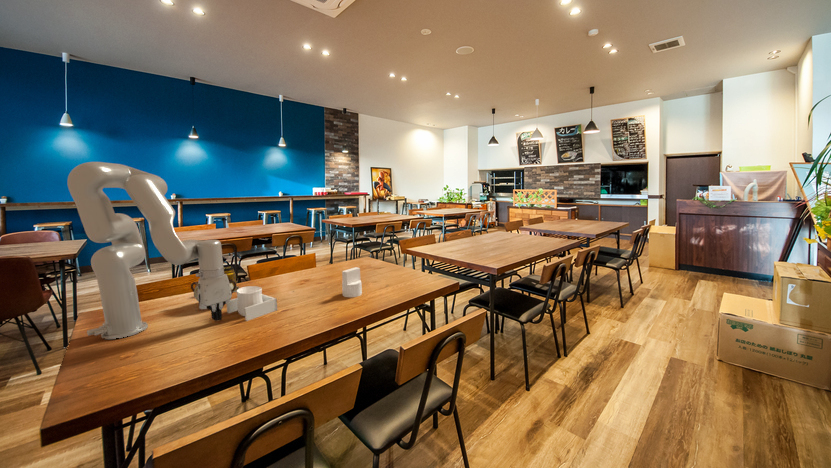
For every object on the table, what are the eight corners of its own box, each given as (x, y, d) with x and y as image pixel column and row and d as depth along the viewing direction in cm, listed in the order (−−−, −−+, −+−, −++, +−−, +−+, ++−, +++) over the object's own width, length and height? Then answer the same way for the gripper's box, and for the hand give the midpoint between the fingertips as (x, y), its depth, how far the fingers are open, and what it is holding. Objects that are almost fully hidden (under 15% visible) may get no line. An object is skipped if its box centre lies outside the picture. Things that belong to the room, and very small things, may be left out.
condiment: (221, 294, 156) (218, 270, 155) (222, 289, 164) (219, 266, 162) (238, 291, 160) (236, 268, 158) (238, 286, 167) (236, 264, 165)
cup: (253, 317, 128) (250, 294, 126) (231, 315, 130) (229, 292, 129) (268, 308, 137) (266, 286, 136) (248, 306, 139) (246, 285, 138)
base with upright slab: (351, 298, 147) (350, 273, 145) (338, 294, 153) (337, 270, 151) (365, 293, 154) (364, 268, 153) (352, 289, 160) (351, 266, 158)
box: (246, 321, 125) (245, 308, 124) (227, 312, 133) (226, 301, 132) (277, 309, 135) (276, 298, 134) (257, 303, 144) (256, 292, 143)
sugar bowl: (181, 311, 135) (176, 276, 133) (203, 298, 150) (200, 267, 148) (228, 310, 135) (224, 276, 133) (246, 298, 150) (243, 266, 148)
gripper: (194, 279, 112) (200, 329, 115) (237, 270, 124) (242, 315, 127) (184, 276, 116) (190, 324, 119) (227, 267, 128) (232, 311, 131)
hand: (217, 319), depth 123 cm, fingers closed
